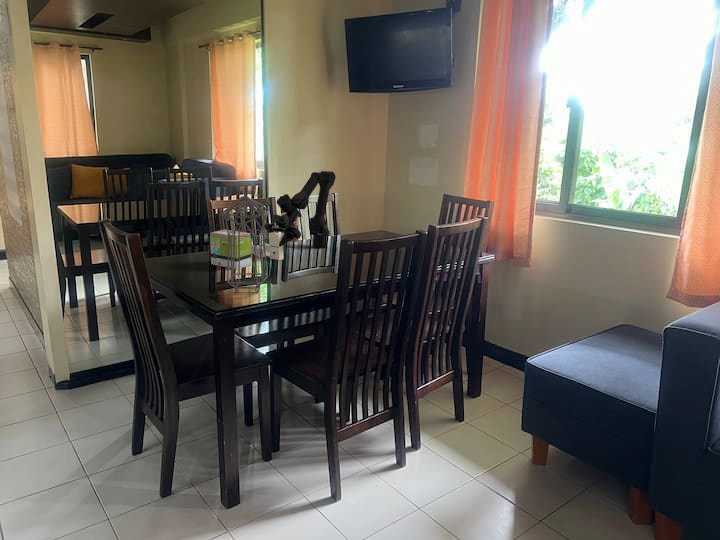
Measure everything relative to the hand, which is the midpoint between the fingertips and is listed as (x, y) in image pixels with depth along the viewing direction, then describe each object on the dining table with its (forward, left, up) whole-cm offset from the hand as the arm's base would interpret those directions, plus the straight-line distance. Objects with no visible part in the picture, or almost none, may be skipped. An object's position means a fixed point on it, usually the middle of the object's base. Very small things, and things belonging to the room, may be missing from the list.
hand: (274, 245), depth 243 cm
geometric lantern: (+23, +46, -7) cm, 52 cm away
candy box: (-19, -39, -7) cm, 44 cm away
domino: (-1, -1, -7) cm, 7 cm away
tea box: (+21, +5, -7) cm, 23 cm away
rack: (+2, -13, -7) cm, 14 cm away
